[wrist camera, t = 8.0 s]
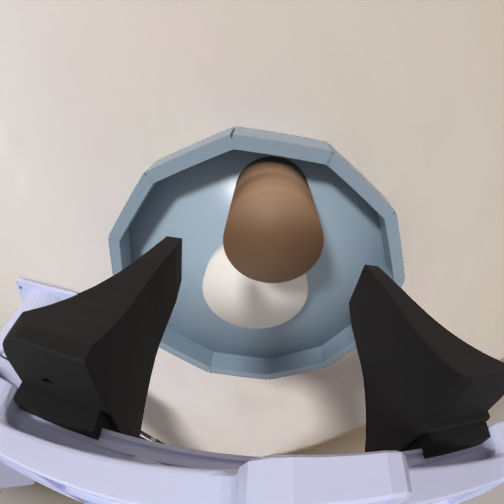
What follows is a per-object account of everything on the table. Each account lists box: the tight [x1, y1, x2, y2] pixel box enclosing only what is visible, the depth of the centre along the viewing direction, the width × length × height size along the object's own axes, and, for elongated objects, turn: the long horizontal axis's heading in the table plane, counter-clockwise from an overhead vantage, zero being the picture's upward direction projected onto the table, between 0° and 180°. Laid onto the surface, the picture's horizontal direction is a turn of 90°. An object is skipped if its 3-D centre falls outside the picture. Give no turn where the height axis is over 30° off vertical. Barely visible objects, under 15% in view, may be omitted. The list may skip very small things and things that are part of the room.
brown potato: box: [223, 156, 324, 283], centre depth 16 cm, size 4×4×6 cm
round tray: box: [108, 127, 405, 379], centre depth 22 cm, size 20×20×2 cm
